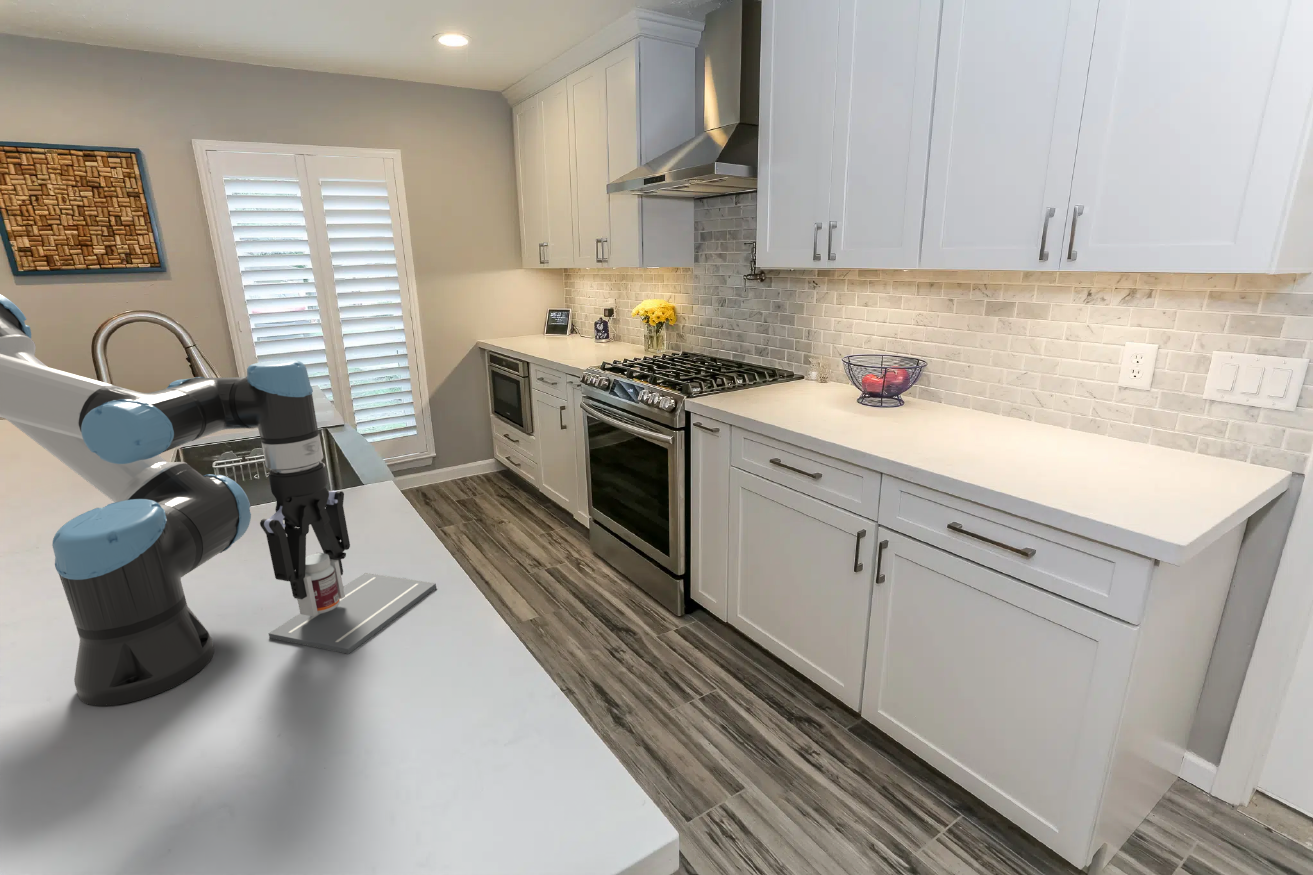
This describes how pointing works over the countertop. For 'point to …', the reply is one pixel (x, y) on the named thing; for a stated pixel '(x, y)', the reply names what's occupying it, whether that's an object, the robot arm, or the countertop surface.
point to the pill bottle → (322, 581)
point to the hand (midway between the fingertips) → (323, 604)
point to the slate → (355, 613)
